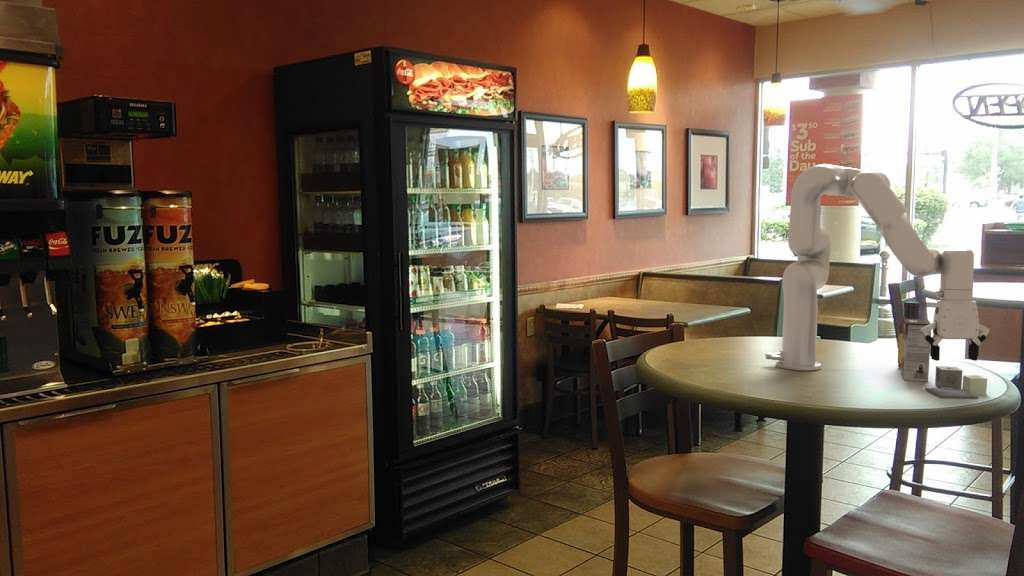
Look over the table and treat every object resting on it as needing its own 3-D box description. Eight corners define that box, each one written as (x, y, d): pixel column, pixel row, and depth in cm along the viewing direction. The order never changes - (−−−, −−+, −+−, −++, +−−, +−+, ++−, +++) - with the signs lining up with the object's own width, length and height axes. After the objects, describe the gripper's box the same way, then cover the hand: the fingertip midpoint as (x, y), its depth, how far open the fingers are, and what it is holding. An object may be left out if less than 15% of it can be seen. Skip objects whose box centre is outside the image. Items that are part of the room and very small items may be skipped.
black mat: (941, 398, 199) (941, 396, 199) (924, 389, 208) (924, 388, 208) (978, 398, 199) (978, 396, 198) (960, 390, 207) (960, 388, 207)
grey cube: (940, 388, 211) (941, 369, 210) (935, 384, 216) (936, 366, 215) (961, 389, 210) (962, 370, 209) (955, 385, 215) (956, 366, 214)
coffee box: (899, 373, 229) (902, 318, 227) (924, 375, 226) (927, 319, 225) (903, 380, 220) (906, 322, 218) (929, 382, 218) (932, 323, 216)
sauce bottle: (923, 371, 232) (927, 303, 230) (900, 370, 233) (904, 303, 231) (916, 367, 238) (920, 301, 236) (894, 366, 240) (897, 300, 238)
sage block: (970, 393, 204) (971, 378, 204) (962, 390, 208) (963, 375, 208) (986, 394, 204) (987, 378, 204) (978, 390, 208) (979, 375, 208)
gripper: (928, 297, 207) (926, 362, 209) (997, 296, 206) (995, 362, 208) (916, 294, 215) (914, 357, 216) (982, 294, 214) (980, 357, 215)
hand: (954, 359), depth 212 cm, fingers open, 9 cm apart
